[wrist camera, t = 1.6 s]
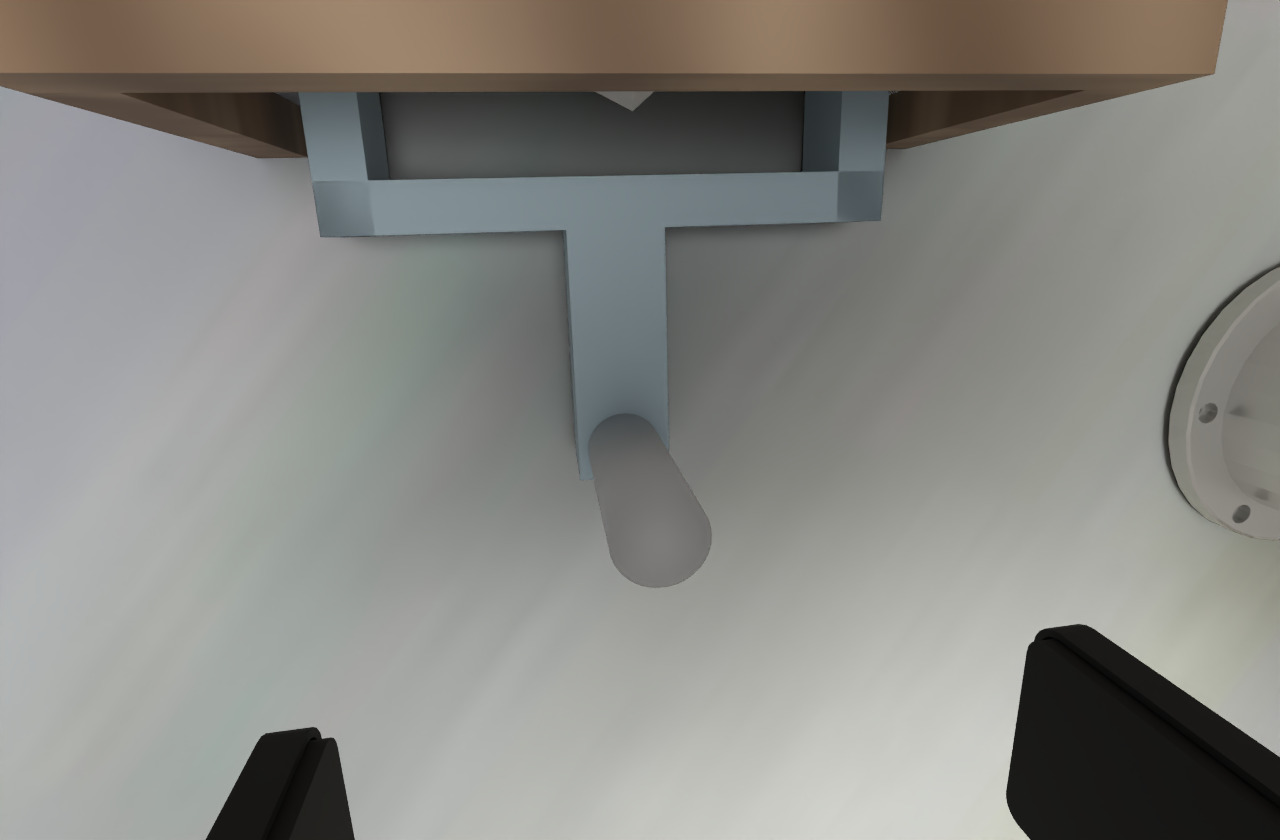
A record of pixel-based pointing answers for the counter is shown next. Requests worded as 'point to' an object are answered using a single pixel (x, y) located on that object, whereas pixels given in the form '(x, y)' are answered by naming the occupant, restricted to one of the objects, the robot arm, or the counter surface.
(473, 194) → the sliding frame
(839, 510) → the counter surface
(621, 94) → the grey rock
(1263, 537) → the robot arm
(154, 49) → the small wooden table
